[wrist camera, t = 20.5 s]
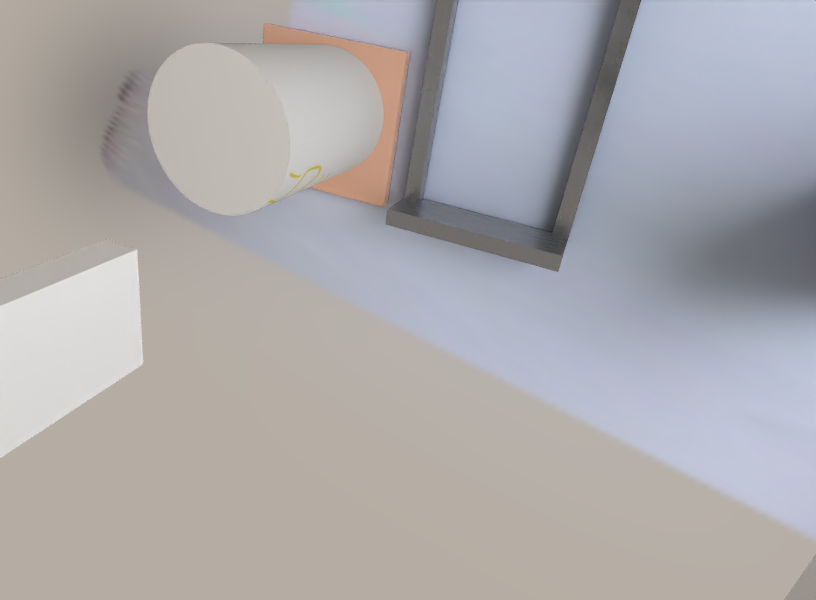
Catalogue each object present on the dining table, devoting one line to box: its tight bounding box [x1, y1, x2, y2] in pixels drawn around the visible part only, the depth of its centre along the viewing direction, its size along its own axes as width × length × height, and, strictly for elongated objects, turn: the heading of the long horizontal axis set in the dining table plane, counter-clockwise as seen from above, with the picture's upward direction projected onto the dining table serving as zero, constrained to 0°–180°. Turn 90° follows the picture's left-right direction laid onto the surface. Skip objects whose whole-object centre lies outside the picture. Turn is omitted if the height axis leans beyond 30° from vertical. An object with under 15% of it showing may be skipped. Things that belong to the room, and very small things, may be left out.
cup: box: [147, 43, 384, 216], centre depth 33 cm, size 8×8×12 cm
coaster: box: [263, 24, 411, 207], centre depth 39 cm, size 10×10×1 cm
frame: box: [386, 0, 641, 272], centre depth 33 cm, size 19×11×4 cm, turn 170°
